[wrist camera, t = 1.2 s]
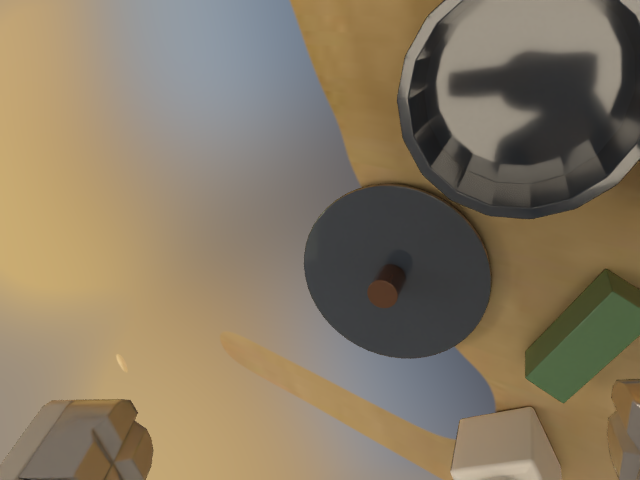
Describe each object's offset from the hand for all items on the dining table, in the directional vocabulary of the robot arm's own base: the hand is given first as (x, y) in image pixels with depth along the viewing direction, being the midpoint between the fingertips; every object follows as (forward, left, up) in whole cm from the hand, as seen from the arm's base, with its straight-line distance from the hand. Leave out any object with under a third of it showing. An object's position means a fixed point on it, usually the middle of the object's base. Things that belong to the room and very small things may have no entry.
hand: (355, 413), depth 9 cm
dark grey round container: (-1, -2, -35) cm, 35 cm away
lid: (-1, +16, -35) cm, 38 cm away
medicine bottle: (-19, +25, -35) cm, 47 cm away
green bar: (-16, +11, -35) cm, 40 cm away
